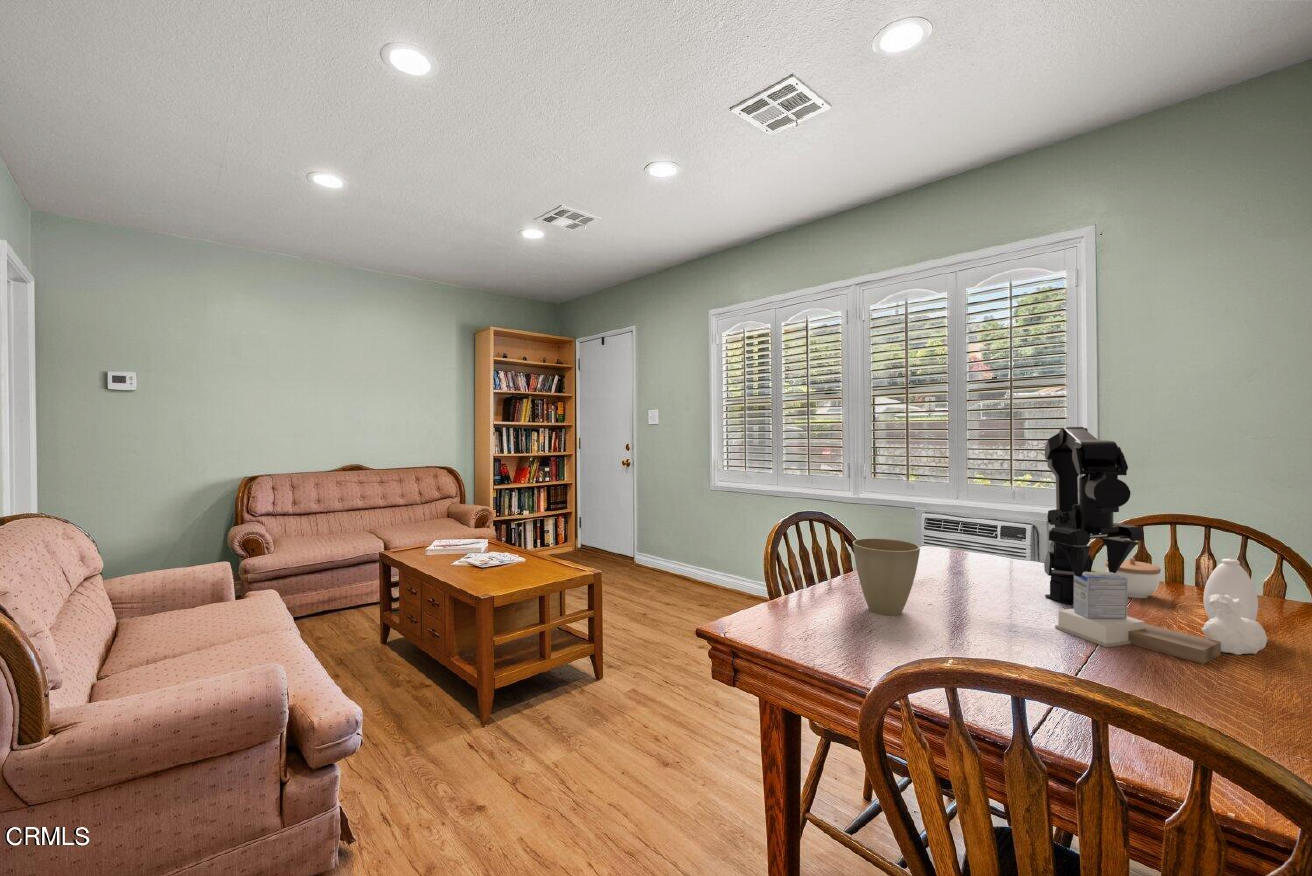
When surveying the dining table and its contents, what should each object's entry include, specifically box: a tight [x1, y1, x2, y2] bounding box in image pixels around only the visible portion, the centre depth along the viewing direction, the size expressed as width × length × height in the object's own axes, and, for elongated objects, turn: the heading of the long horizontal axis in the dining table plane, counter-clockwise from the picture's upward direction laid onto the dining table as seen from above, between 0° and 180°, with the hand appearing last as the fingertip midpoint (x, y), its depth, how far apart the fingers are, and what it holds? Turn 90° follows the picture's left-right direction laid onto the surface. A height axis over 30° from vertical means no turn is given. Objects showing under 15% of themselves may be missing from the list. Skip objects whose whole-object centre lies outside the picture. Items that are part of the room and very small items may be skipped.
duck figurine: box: [1201, 594, 1268, 656], centre depth 109 cm, size 12×8×11 cm
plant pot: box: [852, 537, 921, 616], centre depth 133 cm, size 15×15×16 cm
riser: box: [1054, 608, 1145, 648], centre depth 116 cm, size 11×11×4 cm
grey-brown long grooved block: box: [1128, 622, 1222, 665], centre depth 109 cm, size 8×12×2 cm, turn 29°
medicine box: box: [1073, 571, 1128, 619], centre depth 116 cm, size 8×4×9 cm, turn 86°
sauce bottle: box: [1202, 547, 1259, 621], centre depth 116 cm, size 8×8×18 cm
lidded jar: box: [1105, 557, 1161, 599], centre depth 143 cm, size 11×11×9 cm
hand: (1095, 574), depth 117 cm, fingers open, 9 cm apart
